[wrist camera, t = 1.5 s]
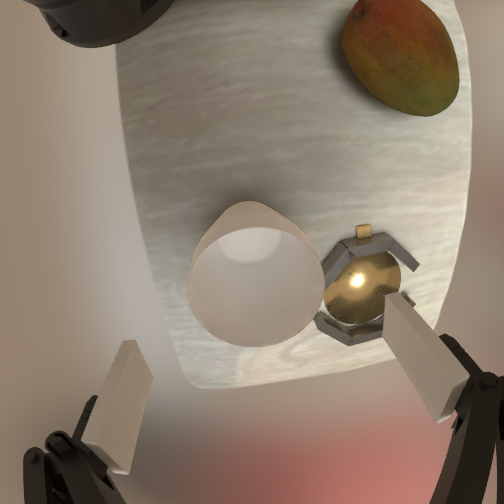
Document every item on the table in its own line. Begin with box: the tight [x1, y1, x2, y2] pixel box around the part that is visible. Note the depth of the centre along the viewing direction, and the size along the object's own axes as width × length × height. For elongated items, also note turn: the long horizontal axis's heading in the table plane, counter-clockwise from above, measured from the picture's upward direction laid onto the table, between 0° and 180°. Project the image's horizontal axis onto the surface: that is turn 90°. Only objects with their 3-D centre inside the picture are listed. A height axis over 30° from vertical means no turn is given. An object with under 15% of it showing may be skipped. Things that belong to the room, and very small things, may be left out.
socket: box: [314, 224, 420, 346], centre depth 32 cm, size 15×13×2 cm
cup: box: [188, 201, 325, 347], centre depth 24 cm, size 9×9×12 cm
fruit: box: [342, 0, 459, 117], centre depth 19 cm, size 12×13×10 cm
